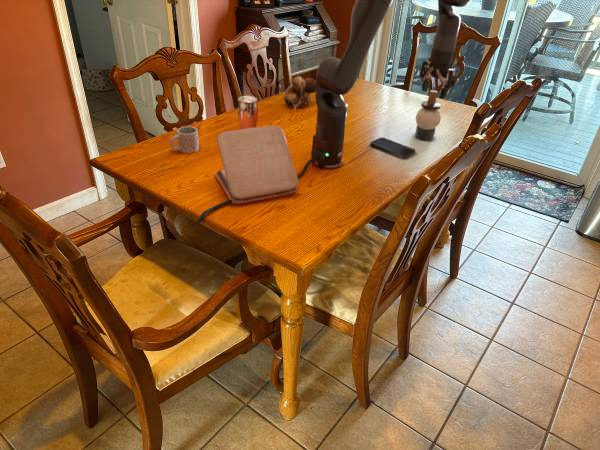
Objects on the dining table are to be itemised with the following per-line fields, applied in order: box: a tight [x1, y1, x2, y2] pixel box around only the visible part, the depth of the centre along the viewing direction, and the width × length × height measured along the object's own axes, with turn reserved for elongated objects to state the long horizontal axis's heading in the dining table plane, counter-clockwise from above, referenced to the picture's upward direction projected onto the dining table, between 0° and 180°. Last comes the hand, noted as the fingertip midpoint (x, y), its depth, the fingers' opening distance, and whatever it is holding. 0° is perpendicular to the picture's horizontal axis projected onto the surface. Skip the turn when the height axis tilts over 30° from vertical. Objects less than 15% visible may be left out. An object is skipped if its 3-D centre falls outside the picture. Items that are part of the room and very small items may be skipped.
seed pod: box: [283, 75, 316, 111], centre depth 191 cm, size 13×16×15 cm
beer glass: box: [237, 95, 259, 130], centre depth 157 cm, size 7×7×15 cm
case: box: [215, 125, 299, 205], centre depth 130 cm, size 20×21×16 cm
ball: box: [415, 107, 442, 130], centre depth 167 cm, size 9×9×9 cm
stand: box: [414, 124, 437, 142], centre depth 170 cm, size 7×7×4 cm
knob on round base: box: [420, 89, 442, 110], centre depth 163 cm, size 7×7×6 cm
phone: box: [369, 137, 416, 160], centre depth 160 cm, size 8×1×15 cm
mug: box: [169, 126, 200, 154], centre depth 150 cm, size 10×7×7 cm
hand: (433, 94), depth 162 cm, fingers open, 8 cm apart
